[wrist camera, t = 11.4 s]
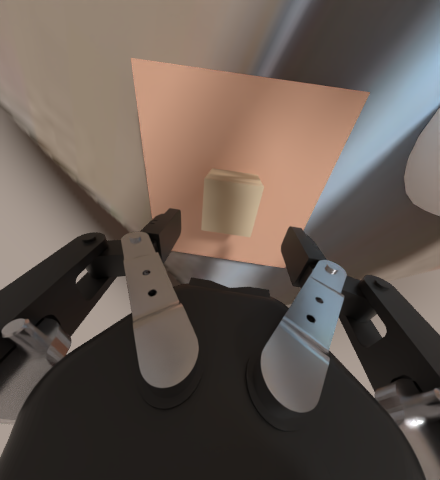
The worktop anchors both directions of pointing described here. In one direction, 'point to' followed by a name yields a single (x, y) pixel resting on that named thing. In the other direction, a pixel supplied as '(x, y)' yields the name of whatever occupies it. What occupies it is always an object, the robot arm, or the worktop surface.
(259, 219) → the terracotta platform
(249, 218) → the maple block
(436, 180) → the cylinder
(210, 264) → the worktop surface
